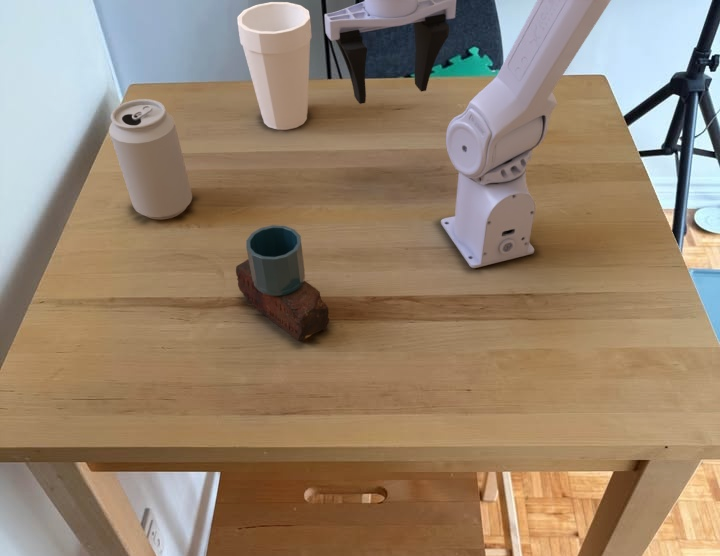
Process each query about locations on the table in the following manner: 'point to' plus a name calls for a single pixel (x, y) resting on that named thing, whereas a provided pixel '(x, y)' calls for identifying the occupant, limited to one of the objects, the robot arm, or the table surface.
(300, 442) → the table surface
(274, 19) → the foam cup
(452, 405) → the table surface
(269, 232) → the cup
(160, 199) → the can
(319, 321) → the brick
